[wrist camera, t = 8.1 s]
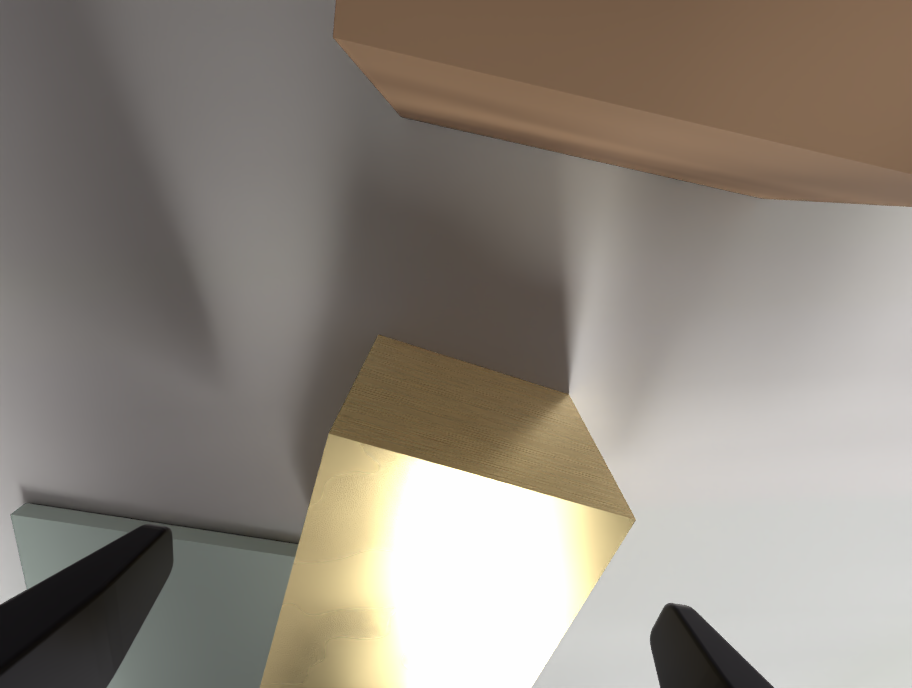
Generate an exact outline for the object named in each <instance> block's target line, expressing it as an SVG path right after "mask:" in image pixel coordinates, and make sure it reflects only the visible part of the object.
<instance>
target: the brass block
mask: <svg viewBox="0 0 912 688" xmlns="http://www.w3.org/2000/svg"><path fill="white" fill-rule="evenodd" d="M635 521H636V519H635V517H634V515H633V513H632V512H631V510H630V508H629V506H628V504H627V502H626V500H625V499H624V497H623V495H622V493H621V491H620V489H619V487H618V485H617V484H616V482H615V480H614V478H613V476H612V474H611V472H610V470H609V469H608V467H607V465H606V463H605V461H604V459H603V457H602V456H601V454H600V452H599V450H598V448H597V446H596V444H595V442H594V441H593V439H592V437H591V435H590V433H589V431H588V429H587V427H586V426H585V424H584V422H583V420H582V418H581V416H580V414H579V413H578V411H577V409H576V407H575V405H574V403H573V401H572V399H571V398H570V396H569V394H566V393H563V392H560V391H556V390H553V389H550V388H547V387H544V386H540V385H537V384H534V383H531V382H528V381H525V380H521V379H518V378H515V377H512V376H509V375H505V374H502V373H499V372H496V371H493V370H489V369H486V368H483V367H480V366H477V365H474V364H470V363H467V362H464V361H461V360H458V359H454V358H451V357H448V356H445V355H442V354H439V353H435V352H432V351H429V350H426V349H423V348H419V347H416V346H413V345H410V344H407V343H404V342H400V341H397V340H394V339H391V338H388V337H384V336H381V335H378V336H377V338H376V340H375V342H374V344H373V346H372V348H371V350H370V352H369V354H368V356H367V358H366V360H365V362H364V364H363V366H362V368H361V370H360V372H359V374H358V376H357V378H356V380H355V382H354V384H353V386H352V388H351V390H350V392H349V394H348V396H347V398H346V400H345V402H344V404H343V406H342V408H341V410H340V412H339V414H338V416H337V418H336V420H335V422H334V424H333V426H332V428H331V430H330V432H329V434H328V438H327V441H326V445H325V449H324V452H323V456H322V460H321V463H320V467H319V471H318V475H317V478H316V482H315V486H314V489H313V493H312V497H311V500H310V504H309V508H308V511H307V515H306V519H305V522H304V526H303V530H302V533H301V537H300V541H299V545H298V548H297V552H296V556H295V559H294V563H293V567H292V570H291V574H290V578H289V581H288V585H287V589H286V592H285V596H284V600H283V603H282V607H281V611H280V615H279V618H278V622H277V626H276V629H275V633H274V637H273V640H272V644H271V648H270V651H269V655H268V659H267V662H266V666H265V670H264V673H263V677H262V681H261V685H260V688H531V686H532V685H533V683H534V682H535V680H536V679H537V677H538V675H539V674H540V672H541V671H542V669H543V667H544V666H545V664H546V663H547V661H548V659H549V658H550V656H551V655H552V653H553V651H554V650H555V648H556V647H557V645H558V643H559V642H560V640H561V639H562V637H563V635H564V634H565V632H566V631H567V629H568V627H569V626H570V624H571V623H572V621H573V619H574V618H575V616H576V615H577V613H578V611H579V610H580V608H581V607H582V605H583V604H584V602H585V600H586V599H587V597H588V596H589V594H590V592H591V591H592V589H593V588H594V586H595V584H596V583H597V581H598V580H599V578H600V576H601V575H602V573H603V572H604V570H605V568H606V567H607V565H608V564H609V562H610V560H611V559H612V557H613V556H614V554H615V552H616V551H617V549H618V548H619V546H620V544H621V543H622V541H623V540H624V538H625V536H626V535H627V533H628V532H629V530H630V529H631V527H632V525H633V524H634V522H635Z"/></svg>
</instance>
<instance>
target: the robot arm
mask: <svg viewBox="0 0 912 688" xmlns="http://www.w3.org/2000/svg"><path fill="white" fill-rule="evenodd" d="M173 562H174V557H173V536H172V530H171V529H170V528H169V527H167V526H161V525H154V524H144V525H141V526H139V527H137V528H136V529H134V530H132V531H130V532H128V533H127V534H125V535H123V536H121V537H120V538H118V539H116V540H114V541H112V542H111V543H109V544H107V545H105V546H104V547H102V548H100V549H98V550H96V551H95V552H93V553H91V554H89V555H88V556H86V557H84V558H82V559H80V560H79V561H77V562H75V563H73V564H72V565H70V566H68V567H66V568H64V569H63V570H61V571H59V572H57V573H56V574H54V575H52V576H50V577H48V578H47V579H45V580H43V581H41V582H40V583H38V584H36V585H34V586H32V587H31V588H29V589H27V590H25V591H24V592H22V593H20V594H18V595H16V596H15V597H13V598H11V599H9V600H8V601H6V602H4V603H2V604H0V688H107V686H108V685H109V683H110V682H111V680H112V679H113V677H114V675H115V674H116V672H117V670H118V668H119V667H120V665H121V663H122V661H123V660H124V658H125V656H126V654H127V652H128V651H129V649H130V647H131V645H132V643H133V641H134V640H135V638H136V636H137V634H138V632H139V630H140V629H141V627H142V625H143V623H144V621H145V620H146V618H147V616H148V614H149V612H150V610H151V609H152V607H153V605H154V603H155V601H156V599H157V598H158V596H159V594H160V592H161V590H162V589H163V587H164V585H165V583H166V581H167V579H168V578H169V576H170V573H171V571H172V567H173ZM650 645H651V650H652V654H653V658H654V663H655V667H656V671H657V675H658V680H659V684H660V688H774V687H773V686H772V685H771V684H770V683H769V682H768V681H767V680H766V679H765V678H764V677H763V676H762V675H761V674H760V673H759V672H758V671H757V670H755V669H754V668H753V667H752V666H751V665H750V664H749V663H748V662H747V661H746V660H745V659H744V658H743V657H742V656H741V655H740V654H739V653H738V652H737V651H736V650H735V649H734V648H733V647H732V646H731V645H730V644H729V643H728V642H727V641H726V640H725V639H724V638H723V637H722V636H721V635H720V634H719V633H718V632H717V631H716V630H715V629H714V628H713V627H711V626H710V625H709V624H708V623H707V622H706V621H705V620H704V619H703V618H702V617H701V616H700V615H699V614H698V613H697V612H696V611H695V610H694V609H693V608H691V607H689V606H687V605H681V604H674V603H668V604H666V605H665V606H664V608H663V610H662V612H661V613H660V615H659V617H658V619H657V621H656V623H655V625H654V627H653V628H652V631H651V635H650Z"/></svg>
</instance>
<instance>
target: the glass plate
mask: <svg viewBox="0 0 912 688" xmlns="http://www.w3.org/2000/svg"><path fill="white" fill-rule="evenodd" d="M10 515H11V520H12V524H13V529H14V533H15V538H16V542H17V547H18V551H19V556H20V560H21V565H22V569H23V574H24V578H25V583H26V588H27V589H29V588H31V587H32V586H34V585H36V584H38V583H40V582H41V581H43V580H45V579H47V578H48V577H50V576H52V575H54V574H56V573H57V572H59V571H61V570H63V569H64V568H66V567H68V566H70V565H72V564H73V563H75V562H77V561H79V560H80V559H82V558H84V557H86V556H88V555H89V554H91V553H93V552H95V551H96V550H98V549H100V548H102V547H104V546H105V545H107V544H109V543H111V542H112V541H114V540H116V539H118V538H120V537H121V536H123V535H125V534H127V533H128V532H130V531H132V530H134V529H136V528H137V527H139V526H141V525H144V524H154V525H161V526H167V527H169V528H170V529H171V530H172V536H173V557H174V562H173V567H172V571H171V573H170V576H169V578H168V579H167V581H166V583H165V585H164V587H163V589H162V590H161V592H160V594H159V596H158V598H157V599H156V601H155V603H154V605H153V607H152V609H151V610H150V612H149V614H148V616H147V618H146V620H145V621H144V623H143V625H142V627H141V629H140V630H139V632H138V634H137V636H136V638H135V640H134V641H133V643H132V645H131V647H130V649H129V651H128V652H127V654H126V656H125V658H124V660H123V661H122V663H121V665H120V667H119V668H118V670H117V672H116V674H115V675H114V677H113V679H112V680H111V682H110V683H109V685H108V686H107V688H260V685H261V681H262V677H263V673H264V670H265V666H266V662H267V659H268V655H269V651H270V648H271V644H272V640H273V637H274V633H275V629H276V626H277V622H278V618H279V615H280V611H281V607H282V603H283V600H284V596H285V592H286V589H287V585H288V581H289V578H290V574H291V570H292V567H293V563H294V559H295V556H296V552H297V548H298V545H299V544H293V543H286V542H280V541H273V540H267V539H260V538H253V537H247V536H240V535H234V534H227V533H220V532H214V531H207V530H201V529H194V528H187V527H181V526H174V525H168V524H161V523H154V522H148V521H141V520H135V519H128V518H122V517H115V516H108V515H102V514H95V513H89V512H82V511H75V510H69V509H62V508H56V507H49V506H42V505H36V504H29V503H25V504H24V505H23V506H21V507H20V508H19V509H17V510H16V511H14V512H13V513H12V514H10Z"/></svg>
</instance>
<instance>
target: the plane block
mask: <svg viewBox="0 0 912 688" xmlns="http://www.w3.org/2000/svg"><path fill="white" fill-rule="evenodd" d="M333 38H334V39H335V40H336V42H337V43H338V44H339V45H340V46H341V47H342V49H343V50H344V51H345V52H346V53H347V54H348V56H349V57H350V58H351V59H352V60H353V61H354V63H355V64H356V65H357V66H358V67H359V68H360V70H361V71H362V72H363V73H364V74H365V75H366V77H367V78H368V79H369V80H370V81H371V82H372V84H373V85H374V86H375V87H376V88H377V89H378V91H379V92H380V93H381V94H382V95H383V96H384V98H385V99H386V100H387V101H388V102H389V103H390V105H391V106H392V107H393V108H394V109H395V110H396V112H397V113H398V114H399V115H400V116H401V117H403V118H408V119H412V120H417V121H421V122H426V123H430V124H434V125H439V126H443V127H448V128H452V129H457V130H461V131H465V132H470V133H474V134H479V135H483V136H488V137H492V138H496V139H501V140H505V141H510V142H514V143H519V144H523V145H527V146H532V147H536V148H541V149H545V150H550V151H554V152H558V153H563V154H567V155H572V156H576V157H581V158H585V159H589V160H594V161H598V162H603V163H607V164H612V165H616V166H620V167H625V168H629V169H634V170H638V171H643V172H647V173H651V174H656V175H660V176H665V177H669V178H674V179H678V180H682V181H687V182H691V183H696V184H700V185H705V186H709V187H713V188H718V189H722V190H727V191H731V192H735V193H740V194H744V195H749V196H753V197H758V198H762V199H779V200H797V201H815V202H833V203H851V204H869V205H887V206H906V207H912V0H336V5H335V17H334V29H333Z"/></svg>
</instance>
